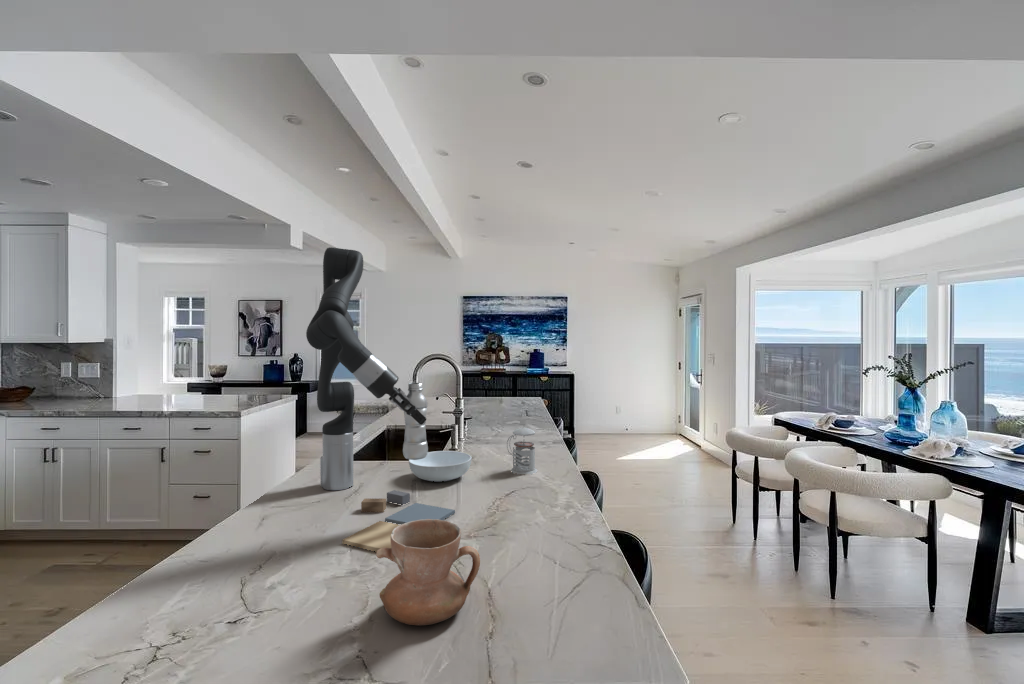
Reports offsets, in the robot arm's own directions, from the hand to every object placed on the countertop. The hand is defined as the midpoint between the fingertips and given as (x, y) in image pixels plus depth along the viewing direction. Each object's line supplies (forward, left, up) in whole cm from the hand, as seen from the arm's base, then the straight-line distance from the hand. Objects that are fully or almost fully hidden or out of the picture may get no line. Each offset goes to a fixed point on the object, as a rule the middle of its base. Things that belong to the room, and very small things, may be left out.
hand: (421, 419), depth 133 cm
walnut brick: (-15, -1, -26) cm, 30 cm away
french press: (+5, +53, -26) cm, 59 cm away
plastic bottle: (-1, -1, -11) cm, 11 cm away
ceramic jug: (+28, -36, -26) cm, 53 cm away
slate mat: (0, 0, -26) cm, 26 cm away
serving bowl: (-16, +33, -26) cm, 45 cm away
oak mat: (0, -15, -26) cm, 30 cm away
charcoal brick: (-13, +7, -26) cm, 30 cm away
